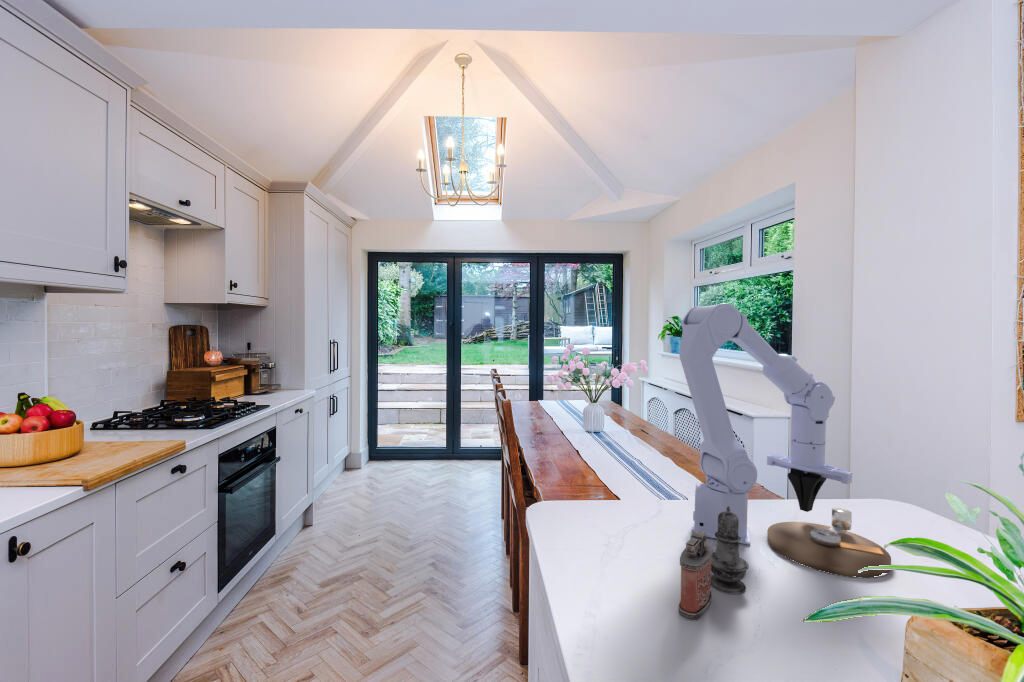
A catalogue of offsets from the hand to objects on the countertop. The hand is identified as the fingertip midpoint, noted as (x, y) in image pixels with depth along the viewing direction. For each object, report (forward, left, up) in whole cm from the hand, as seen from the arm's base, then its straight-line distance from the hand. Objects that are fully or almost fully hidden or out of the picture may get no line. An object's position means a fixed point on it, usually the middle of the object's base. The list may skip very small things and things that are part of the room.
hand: (805, 509), depth 90 cm
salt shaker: (-14, -29, -4) cm, 33 cm away
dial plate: (+2, -9, -4) cm, 10 cm away
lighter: (-18, -37, -4) cm, 42 cm away
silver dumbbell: (+3, -6, -2) cm, 7 cm away
